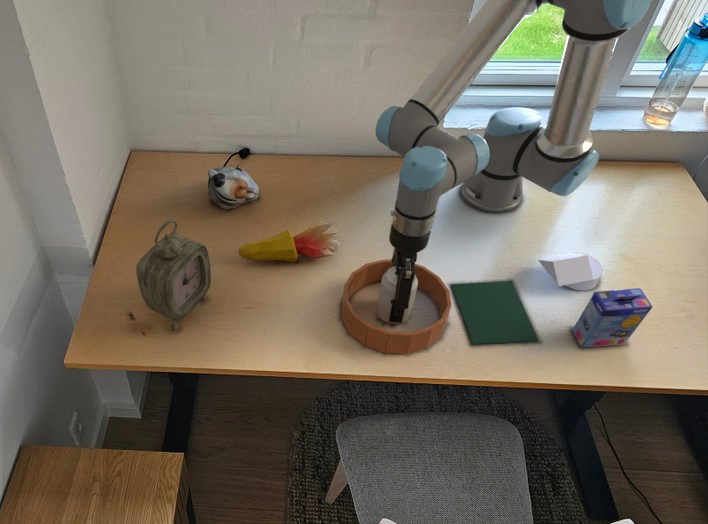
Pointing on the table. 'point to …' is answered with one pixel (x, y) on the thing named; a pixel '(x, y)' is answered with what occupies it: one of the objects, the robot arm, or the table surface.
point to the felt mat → (493, 313)
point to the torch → (294, 244)
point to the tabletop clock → (174, 275)
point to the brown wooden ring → (395, 340)
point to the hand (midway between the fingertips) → (394, 307)
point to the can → (393, 295)
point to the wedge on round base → (573, 270)
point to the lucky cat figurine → (231, 187)
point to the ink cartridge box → (611, 317)
